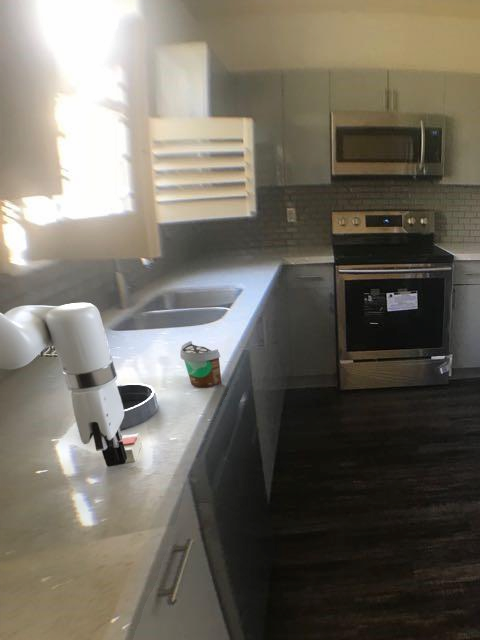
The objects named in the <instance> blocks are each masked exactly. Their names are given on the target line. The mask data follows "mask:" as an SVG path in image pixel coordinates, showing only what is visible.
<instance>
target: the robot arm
mask: <svg viewBox="0 0 480 640" xmlns="http://www.w3.org/2000/svg"><path fill="white" fill-rule="evenodd" d="M50 347H54V350H55V353H56V356H57V359H58V363H59V365H60V368H61V371H62V374H63V377H64V381H65V384H66V388H67V390H68V391H70V397H71V404H72V410H73V414H74V419H75V423H76V427H77V431H78V433H79V437H80V438H79V439H80V442H81V443H82V444H84V445H88V444H89V443H90V441H91V440H92V438H93V441H94V446H95V450H96V452H100V451H101V453H102V456H103V459H104V463H105V465H106V467H115V466H120V465H124V464H126V463H125V462H126V459H127V455H126V452H125V448H124V445H123V441H121V440H122V436H123V435H122V431H121V430H120V424H121V422H122V420H123V418H124V408H123V404H122V400H121V397H120V394H119V391H118V388H117V386H118V385H117V383H116V381H117V379H118V374H117V371H116V367H115V364H114V363H115V362H114V360H113V356H112V352H111V349H110V348H111V347H110V345H109V341H108V338H107V334H106V330H105V326H104V324H103V320H102V316H101V312H100V310H99V309H98V307H97V306H96V305H94V304H92V303H89V302H74V303H73V302H71V303H66V304H62V305H37V304H36V305H35V304H34V305H32V304H31V305H30V304H29V305H20V306H17V307H16V306H15V307H13V308H11V309H9V310H8V311H6V312H5V313H2V312H1V311H0V369H1V370H15V369H21V368H23V367H25V366H27V365H29V364H30V363H31V362H33V361H34V360H35V359H36V358H37V357H38V356H39V355H40V354H41V353H42V352H43V351H44V350H46V349H48V348H50ZM119 441H120V442H119Z"/></svg>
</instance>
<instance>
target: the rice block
mask: <svg viewBox="0 0 480 640" xmlns="http://www.w3.org/2000/svg"><path fill="white" fill-rule="evenodd" d="M121 436H122V440H121V441H123V445H124V448H125V452H126V455H127V459H126V462H125V464H127V463H128V464H129V463H135V462H136V461H137V458H138V455H139V453H140V449H142V441H141V436H140V433H138V432H137V433H132V434H125V435H121ZM119 442H120V441H119Z"/></svg>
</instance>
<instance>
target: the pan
mask: <svg viewBox="0 0 480 640" xmlns="http://www.w3.org/2000/svg"><path fill="white" fill-rule="evenodd" d="M117 388H118V391H119V394H120V397H121V400H122V404H123V408H124V418H123V420H122V422H121V424H120V431H121V430H126V429H128V428H132V427H134V426H137V425H139V424H141V423H144V422H145V421H147V420H148V419H150V418H151V417H152V416H153V415H154V414H155V413H157V412H158V408H159V402H158V399H157V395H156V391H155V389H154V387H153V386H151V385H149V384H145V383H126V384H119V385H117Z"/></svg>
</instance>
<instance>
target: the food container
mask: <svg viewBox="0 0 480 640" xmlns="http://www.w3.org/2000/svg"><path fill="white" fill-rule="evenodd" d="M179 356H180V359H181V360H183V361H184V365H185V367H186V371H187V374H188V377H189V381H190V385H191V386H192V387H194V388H199V389H205V388H206V389H207V388H213V387H217V386H220V385H222V384H223V383H222V374H221V366H220V365H221V364H220V363H221V362H220V358H221V354H220V352H219V349H218V348H217V349H214V350H212V349H210V348H207V347H205V346H199V345H196V344H193V341H192V340H190V341H187V342H185V343H184V344H183V345H182V346H181V347H180V353H179Z"/></svg>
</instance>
